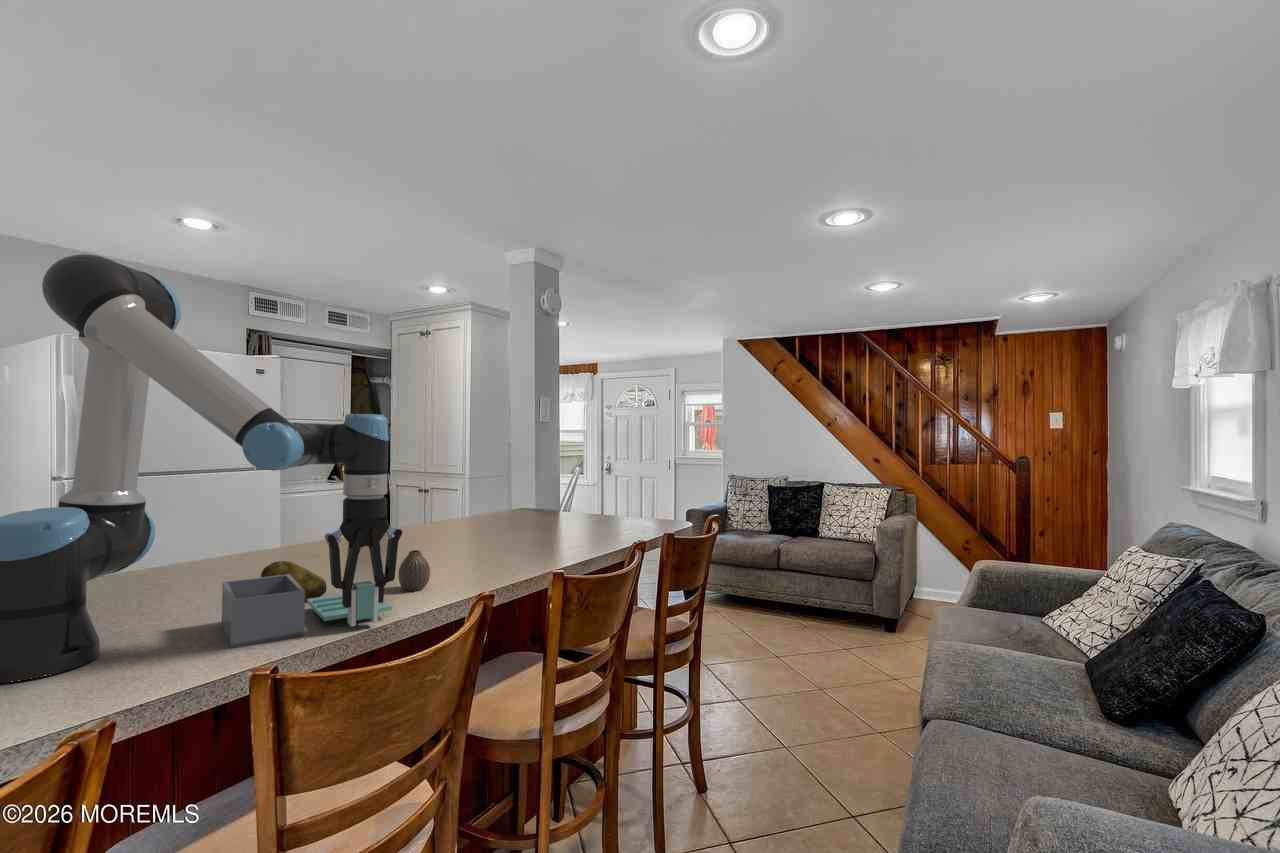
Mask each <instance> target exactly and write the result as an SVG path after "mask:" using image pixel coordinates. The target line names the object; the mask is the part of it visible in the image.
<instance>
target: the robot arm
mask: <svg viewBox="0 0 1280 853" xmlns="http://www.w3.org/2000/svg"><path fill="white" fill-rule="evenodd" d="M42 279H43V280H42V286H41V287H42V294H43V297H44V300H45V302H46V303H47V305H48V307H49V308H50V309H51V311H52V312H54V313H55V315H57V317H59V319H61V320H63V322H65V323H67V325H69V326H70V327H71V328H73V329H74V330H76V331H77V332H78V337H77V339H78V341H80V342H81V343H82V344H83V345H84V346H85V347H86V349H87V350H88V354H87V356H88V357H87V363H86V371H85V372H86V373H85V380H84V387H83V397H82V403H81V404H82V406H81V411H80V412H81V414H80V421H79V431H78V439H77V447H76V456H75V462H74V463H75V464H74V473H73V479H72V480H73V481H72V488H70V490H69V491H67V492H66V493H63V495H61V496H60V497H59V498H58V505H57V506H55V507H42V508H41V507H40V508H36V509H32V510H22V511H17V512H13V513H9V514H5V515H2V516H0V683H2V684H7V683H6V682H11V681H18V680H25V679H31V678H36V677H41V676H44V675H49V674H54V673H58V672H62V671H65V672H67V671H66V670H68V671H71V670H74V669H77V668H80V667H81V666H84V664H85V665H87V664H88V662H89V663H91V662H92V661H94V660H95V659H97V658H98V657H97V656H98V655H100V654H99V653H101V652H100V650H101V649H100V647H101V646H100V644H101V642H100V637H99V636H98V632H97V630H96V628H95V626H94V624H93V621H92V618H91V617H90V614H89V611H88V609H87V582H88V581H91V580H94V579H97V578H100V577H103V576H106V575H111V574H115V573H117V572H120V571H123V570H124V569H127V568H129V566H132V565H133V564H135V563H137V562H138V561H140V560H142V559H143V557H144V556H145V555H147V553H148V552H149V551H150V550H151V548H152V546H153V544H154V540H155V537H156V526H155V522H154V519H153V518H152V517H150V516H149V513H148V512H147V511H146V502H147V499H146V497H145V496H143V494H142V493H140V492H139V491H138V489H137V488H138V480H139V479H138V478H139V470H140V462H141V453H142V445H143V436H144V427H145V421H146V420H145V418H146V410H147V402H148V394H149V384H150V378H151V380H153V381H154V382H155V383H157V384H158V385H160V386H161V387H162V388H163V389H165V390H167V392H169V393H170V394H172V395H173V396H174V397H175V398H177V399H178V400H180V401H181V402H182V403H184V404H185V405H186V406H188V407H189V408H190V409H191V410H193V411H194V412H195V413H196V414H198V415H199V416H201V417H202V418H203V419H204V420H206V421H207V422H208V423H210V424H211V425H212V426H214V427H215V428H216V429H218V431H220V432H222V433H223V434H224V435H226V437H228V438H230V439H231V440H232V441H233V442H235V443H236V444H237V445H239V446H240V447H241V449H242V452H243V455H244V457H245V459H246V460H247V461H248V463H249V464H250V465H252V466H254V467H255V468H257V469H260V470H265V471H284V470H288V469H290V468H295V467H303V466H309V465H343V490H342V492H343V493H342V494H343V495H344V496H346V497H345V498H343V500H342V522H341V524H340V526H339V529H338V530H336V531H333V532H332V533H331V532H330V533H329V532H327V533H326V534H325V535H324V539H325V541H326V543H327V545H328V550H329V568H330V569H329V570H330V581H331V582H330V584H331V585H332V586H333V587H334V588H335V589H336V590H338V589H339V590H341V591H342V593H341V594H342V604H343V606H344V607H345V608H348V617H347V624H348V625H349V626H350V627H355V626H356V624H357V620H356V591H357V590H356V589H354V588H353V583H354V580H355V575H356V570H357V564H358V559H359V554H360V552H361V549H362V548H364V547H368V550H369V552H370V554H369V555H370V560H371V567H372V574H373V580H374V616H373V617H372V618H369V620H370V621H371V622H372V623H378V622H379V612H378V603H381V602H383V600H384V599H385V598H384V597H385V586H386V585H387V583H389V582H394V581H395V578H396V568H397V560H398V558H397V557H398V550H399V549H398V548H399V541H400V539H401V537H402V534H403V530H402V529H400V528H398V527H393V526H390V524H389V522H388V519H387V515H388V514H387V513H388V499H387V497H386V496H385V495H387V494H388V464H389V463H388V458H389V441H390V438H389V423H388V418H387V417H386V416H385V415H384V414H376V413H375V414H374V413H371V414H370V413H347V414H346V415H345V417H344V421H343V423H336V424H335V423H334V424H332V423H331V424H330V423H311V422H310V423H307V422H305V423H304V422H303V423H302V422H291V421H289V420H288V419H286V418H285V417H284V416H282V415H281V414H280V413H279V412H277V411H276V410H275V409H273V408H272V407H271V406H270V405H269V404H267V403H266V402H265V401H263V399H261V398H260V397H258V395H255V393H254V392H252V391H251V390H250V389H248V388H247V387H245V386H244V385H243V384H242V383H240V382H239V381H238V380H236V379H235V377H233V376H231V375H230V374H229V373H227V372H226V371H225V370H224V369H222V368H221V367H220V366H219V365H217V364H216V363H215V362H214V361H212V360H211V359H210V358H209V357H208V356H206V355H205V354H204V353H203V352H201V351H200V350H198V349H197V348H195V346H193V345H191V344H190V343H189V342H188V341H187V340H185V339H184V338H182V337H181V336H180V335H179V334H178V333H177V332H175V330H176V329H177V328H178V326H179V323H180V321H181V317H182V310H181V309H182V308H181V303H180V302H179V299H178V297H177V295H176V294H175V292H174V291H173V289H172V288H170V286H169V285H167V284H166V283H165V282H163V281H162V280H160V279H158V278H157V277H156V276H154V275H151V274H150V273H148V272H145V271H140V270H138V269H135V268H133V267H129V266H128V265H124V264H121V263H119V262H116V261H114V260H112V259H109V258H106V257H103V256H100V255H95V254H87V253H86V254H85V253H84V254H83V253H81V254H74V255H70V256H65V257H63V258H62V259H59V260H57V261H56V262H55V263H53V264H52V265H51V266H50V267H49V268H48V269H47V270H46V271H45V274H44V276H43V278H42ZM385 535H386V536H387V538H388V540H387V544H386V545H387V546H386V555H385V566H384V567H383V562H382V556H381V555H382V554H381V544H380V543H381V540H382V539H383V538H384V536H385ZM342 537H343V538H344V539H345V540H346V542H348V545H347V550H348V551H347V557H346V561H345V565H344V571H343V572H344V573H343V576H342V568H341V566H342V565H341V550H340V545H339V544H340V543H341V541H342V539H341V538H342ZM384 601H385V600H384ZM96 657H97V658H96ZM93 659H94V660H93ZM90 661H91V662H90ZM86 663H87V664H86ZM79 666H80V667H79ZM76 667H77V668H76ZM73 668H74V669H73ZM70 669H71V670H70ZM62 673H63V672H62ZM58 674H59V673H58ZM54 675H55V674H54ZM41 678H42V677H41ZM31 680H32V679H31Z"/></svg>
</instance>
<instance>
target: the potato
mask: <svg viewBox="0 0 1280 853" xmlns="http://www.w3.org/2000/svg"><path fill="white" fill-rule="evenodd" d="M287 574H290V575H291V576H292V577H293V578H294V580H295V581H296V582H297V583H298V584H299V585H300V586H301V587H302V588H303V589H304V590H305V602H307V599H310V598H317V597H323V596H324V594H326V592H327V582H326V580H325V579H324V578H323V577H321V575H318V574H316V573H314V572H312V571H310V570H309V569H308V568H305V567H303V566H300V565H299V564H297V563H295V562H293V561H287V560H279V561H273V562H271V563H270V564H269V565H267V566H265V567H264V568H263V569H262V571H261V573H260V578H261V577H270V576H278V575H287Z"/></svg>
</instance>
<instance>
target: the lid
mask: <svg viewBox="0 0 1280 853" xmlns="http://www.w3.org/2000/svg"><path fill="white" fill-rule="evenodd" d="M374 584H375V582H372V581H371V580H365V581H361V582H353V586H352V587H353V588H354V589H356V590H357V591H356V621H361V620H366V619H367V620H368V619H370V618H372V617H373V616H374ZM306 604H307V605H309V606H310V607H311V609H312V610H313V611H314V612H315V613H316V614H317V615H318V617H320V618H321V619H322V621H323V622H327V621H334V620H339V619H340V620H341V619H344V618H348V608H345V607H344V606H343V604H342V593H340V594H332V595H325V596H320V597H317V598H310V599H307V601H306ZM388 611H392V605H390V604H389V603H387V602H386V601H385V600H383V602H381V603H378V613H382V612H388Z"/></svg>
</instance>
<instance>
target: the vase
mask: <svg viewBox="0 0 1280 853" xmlns="http://www.w3.org/2000/svg"><path fill="white" fill-rule="evenodd" d="M397 576H398V581H399V584H400V586H401V588H402V589H403V590H404V591H406V592H416V591H417V592H418V591H421V590H423V589H424V588H425V587H426V586H427V585H428V583H429V581H430V576H431V568H430V565H429V562H428V561H427V559H426V558H425V557H424V556H423V554H422V551H421V550H418V549H415V550H413V549H412V550H409V552H408V554H407V555H406V557H405V558H404V559H403V560H402V562H401V564H400V565H399V569H398V574H397Z"/></svg>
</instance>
